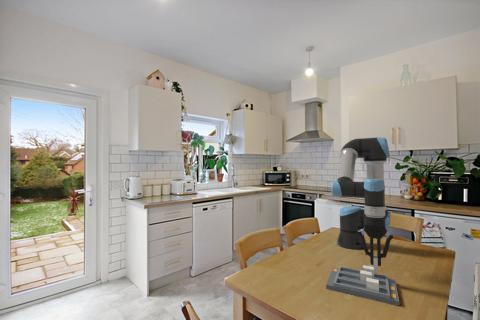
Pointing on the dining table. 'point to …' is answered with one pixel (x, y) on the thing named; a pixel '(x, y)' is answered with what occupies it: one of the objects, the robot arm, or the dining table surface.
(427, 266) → the dining table surface
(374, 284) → the tab
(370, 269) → the tab
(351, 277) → the switch board
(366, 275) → the tab
